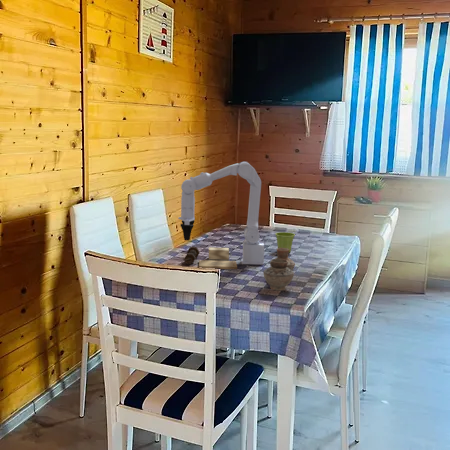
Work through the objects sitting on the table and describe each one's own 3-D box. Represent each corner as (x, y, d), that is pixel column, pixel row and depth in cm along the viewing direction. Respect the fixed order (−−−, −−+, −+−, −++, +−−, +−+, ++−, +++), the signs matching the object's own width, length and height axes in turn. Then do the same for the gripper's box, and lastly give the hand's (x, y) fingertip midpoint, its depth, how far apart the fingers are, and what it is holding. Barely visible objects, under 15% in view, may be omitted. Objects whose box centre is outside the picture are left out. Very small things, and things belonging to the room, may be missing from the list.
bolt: (186, 269, 233) (191, 260, 248) (196, 264, 232) (201, 255, 247) (179, 258, 232) (185, 249, 247) (190, 252, 231) (195, 244, 246)
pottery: (296, 276, 221) (297, 247, 219) (292, 294, 197) (293, 262, 195) (268, 274, 223) (269, 245, 221) (260, 291, 199) (262, 259, 197)
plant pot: (293, 254, 258) (294, 236, 257) (273, 253, 260) (274, 235, 259) (294, 250, 267) (295, 232, 266) (275, 248, 269) (276, 231, 268)
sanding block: (228, 258, 247) (228, 247, 246) (228, 261, 242) (229, 250, 242) (208, 258, 247) (208, 247, 246) (208, 260, 242) (208, 249, 241)
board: (235, 263, 239) (236, 261, 238) (237, 269, 229) (237, 266, 228) (199, 262, 238) (199, 260, 238) (198, 268, 228) (198, 265, 228)
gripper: (179, 204, 243) (179, 234, 245) (177, 209, 228) (177, 241, 231) (195, 205, 243) (194, 235, 245) (194, 210, 229) (193, 242, 231)
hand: (187, 238), depth 238 cm, fingers open, 7 cm apart
